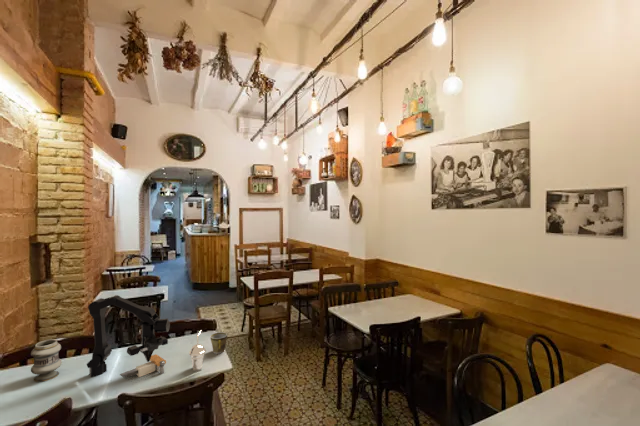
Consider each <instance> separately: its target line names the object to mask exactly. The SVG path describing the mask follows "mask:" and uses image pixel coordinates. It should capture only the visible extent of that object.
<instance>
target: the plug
mask: <svg viewBox="0 0 640 426" xmlns="http://www.w3.org/2000/svg"><path fill="white" fill-rule="evenodd" d="M135 368H136V371H134V372H132V371H131V373H129V374H127V373H126V374H125V375H126V377H132V376H133V375H134V376H136V375H137V376H136V377H137V378H139V377H140V378H142V377H143V375H144V376H145V375H146V376H147V374H148V375H149V373H150V374H152V373H155V372H156V370H155V364H154V363H153V362H151V361H149V362H145V363H142V364H140V365H137V366H136V367H135ZM154 371H155V372H154ZM134 376H133V377H134ZM126 377H125V378H126Z"/></svg>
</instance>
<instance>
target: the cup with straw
mask: <svg viewBox="0 0 640 426" xmlns="http://www.w3.org/2000/svg"><path fill="white" fill-rule="evenodd" d="M201 333H202V329H200V331H199V332H198V333H197V334H196V335H197V337H196V344H194V345H193V346H192V347H191V349H190V350H189V352H188V355H189V356H190V359H191V365H192V370H193V371H196V373H199V372H201V371H202V370H203V369H202V368H203V362H204V356H205V354H206V352H207V350H206V348H205V347H204V345H202V344H201V343H199V336H200V334H201Z"/></svg>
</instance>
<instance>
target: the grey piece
mask: <svg viewBox="0 0 640 426" xmlns="http://www.w3.org/2000/svg"><path fill="white" fill-rule="evenodd" d="M134 371H136V367H135V368H133V369H130V370H128V371H125V372H123V373H120V374H119V375H120V376H122V377H123V379H124V380H125V381H128V383H132V384H133V383H138V382H136V379H134V381H135V382H134V381H132V380H131V379H132V378H136V377H138V376H137V375H136V374H135V375H133V376H130V377H126V374H129V373H132V372H134ZM154 374H157V376H159V375H163V374H166V372H165V365H164V366H157V365H156V364H155V371H154V372H151V373H148V374H146V375H143V376H142V378H143V379H144V378H145V379H146V378H148V377H151V376H154ZM138 379H141V377H138Z"/></svg>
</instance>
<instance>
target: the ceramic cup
mask: <svg viewBox="0 0 640 426" xmlns="http://www.w3.org/2000/svg"><path fill="white" fill-rule="evenodd" d="M209 337H210V338H209V339H210V342H211V346H212V352H213V354H215V355H220V354H222V353H224V352H225V351H224V350H226V344H227V340H228V339H227V338H228V333H226V332H222V331H220V332H219V331H218V332H214V333H212V334H211V335H210V336H209Z"/></svg>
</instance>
